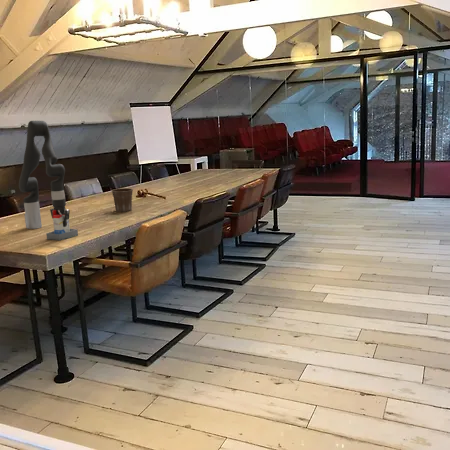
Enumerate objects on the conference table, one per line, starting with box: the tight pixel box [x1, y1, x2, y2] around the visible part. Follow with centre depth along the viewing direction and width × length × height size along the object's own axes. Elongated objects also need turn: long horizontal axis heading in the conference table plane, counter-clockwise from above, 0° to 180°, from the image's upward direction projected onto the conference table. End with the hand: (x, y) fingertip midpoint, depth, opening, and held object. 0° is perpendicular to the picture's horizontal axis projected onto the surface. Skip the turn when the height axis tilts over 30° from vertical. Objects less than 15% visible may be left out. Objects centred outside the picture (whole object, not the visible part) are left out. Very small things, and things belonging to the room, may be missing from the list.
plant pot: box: [111, 187, 134, 213], centre depth 373 cm, size 16×16×16 cm
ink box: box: [52, 210, 71, 234], centre depth 292 cm, size 8×5×15 cm, turn 158°
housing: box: [46, 228, 79, 242], centre depth 293 cm, size 11×15×4 cm
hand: (61, 226), depth 292 cm, fingers closed on ink box, 5 cm apart
